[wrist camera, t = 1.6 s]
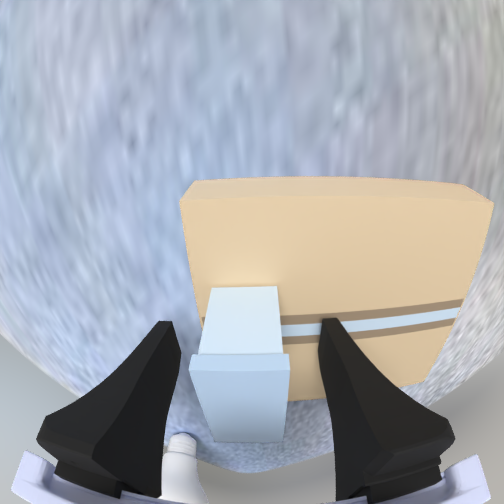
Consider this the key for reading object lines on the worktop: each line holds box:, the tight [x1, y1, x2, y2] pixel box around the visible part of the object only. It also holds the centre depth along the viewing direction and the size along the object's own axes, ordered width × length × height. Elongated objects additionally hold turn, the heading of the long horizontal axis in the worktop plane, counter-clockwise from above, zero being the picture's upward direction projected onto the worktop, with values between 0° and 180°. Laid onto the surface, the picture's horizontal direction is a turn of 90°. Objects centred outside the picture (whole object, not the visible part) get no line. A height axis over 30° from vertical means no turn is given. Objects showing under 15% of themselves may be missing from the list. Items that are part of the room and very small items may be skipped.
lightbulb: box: [157, 433, 209, 504], centre depth 18 cm, size 6×6×11 cm
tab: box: [189, 286, 290, 443], centre depth 11 cm, size 3×5×4 cm, turn 3°
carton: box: [179, 176, 494, 401], centre depth 13 cm, size 13×12×3 cm
